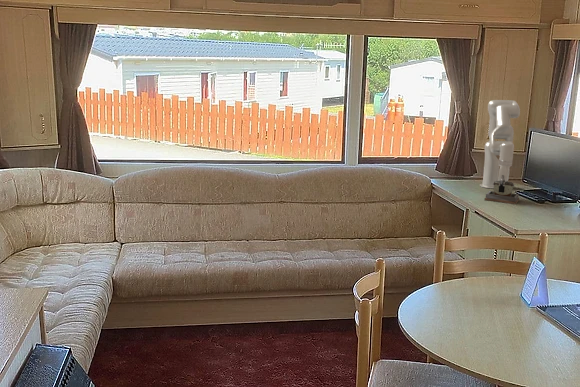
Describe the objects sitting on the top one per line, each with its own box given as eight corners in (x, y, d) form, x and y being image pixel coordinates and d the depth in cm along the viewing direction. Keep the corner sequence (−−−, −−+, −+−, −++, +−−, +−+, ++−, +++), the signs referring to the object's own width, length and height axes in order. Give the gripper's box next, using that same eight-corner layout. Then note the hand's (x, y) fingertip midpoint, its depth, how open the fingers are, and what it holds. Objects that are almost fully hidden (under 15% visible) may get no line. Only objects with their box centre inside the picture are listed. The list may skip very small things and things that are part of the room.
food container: (512, 197, 347) (514, 181, 345) (512, 199, 342) (514, 183, 339) (491, 195, 351) (493, 180, 349) (491, 197, 346) (492, 181, 344)
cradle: (488, 196, 355) (489, 190, 354) (518, 199, 347) (519, 194, 346) (484, 200, 344) (485, 194, 343) (515, 204, 336) (516, 198, 335)
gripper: (501, 160, 350) (498, 187, 353) (496, 164, 335) (493, 192, 339) (514, 162, 346) (511, 189, 350) (509, 165, 331) (506, 194, 335)
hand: (502, 190), depth 344 cm, fingers open, 9 cm apart
